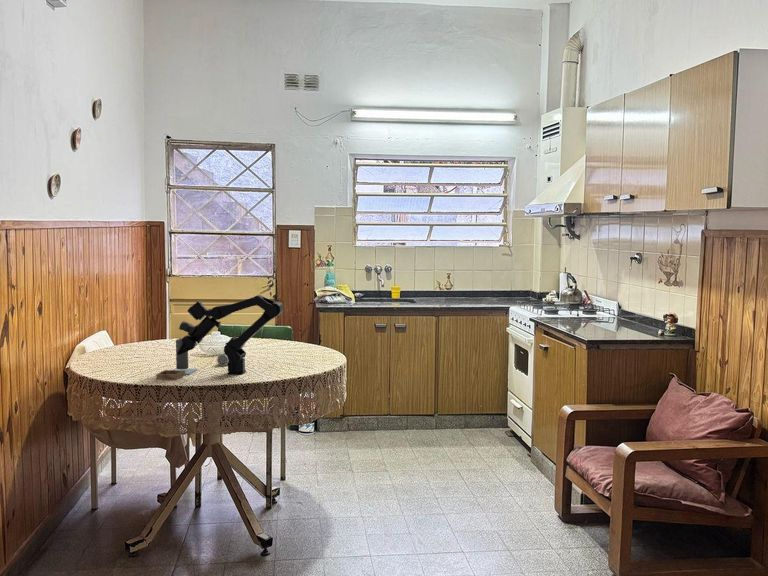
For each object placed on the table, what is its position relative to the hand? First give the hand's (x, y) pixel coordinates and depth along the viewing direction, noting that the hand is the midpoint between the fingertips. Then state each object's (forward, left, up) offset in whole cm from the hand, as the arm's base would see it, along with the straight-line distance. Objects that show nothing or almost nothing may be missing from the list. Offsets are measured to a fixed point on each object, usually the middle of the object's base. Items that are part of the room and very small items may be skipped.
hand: (178, 353), depth 309 cm
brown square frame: (0, +10, -8) cm, 13 cm away
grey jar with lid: (-1, 0, -7) cm, 7 cm away
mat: (-1, 0, -8) cm, 9 cm away
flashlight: (-15, -24, -9) cm, 30 cm away
